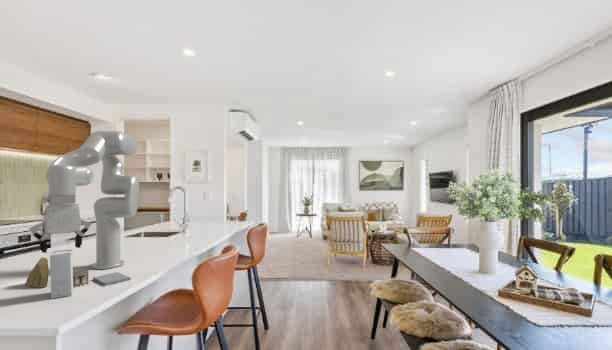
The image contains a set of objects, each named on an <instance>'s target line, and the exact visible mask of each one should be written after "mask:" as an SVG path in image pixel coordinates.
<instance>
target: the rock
mask: <svg viewBox="0 0 612 350" xmlns="http://www.w3.org/2000/svg"><path fill="white" fill-rule="evenodd" d="M48 261H49V260H48V258H46V257H41V258H40V259H39V260H38V261H37V262H36V264H35V265H34V267H33V268H32V269H31V271H30V272H29V275H28V276H27V278H26V281H25V283H24V285H26V286H27V287H30V288H31V287H33V288H46V287H47V286H48V283H49V262H48Z"/></svg>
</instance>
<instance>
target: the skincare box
mask: <svg viewBox="0 0 612 350" xmlns="http://www.w3.org/2000/svg"><path fill="white" fill-rule="evenodd" d="M73 266H74V264H73V249H72V248H70V249H62V250H54V251H52V252H51V254H50V255H49V268H50V298H51V299H57V298H64V297H70V296H73V290H74V287H73V271H74V269H73V268H74V267H73Z"/></svg>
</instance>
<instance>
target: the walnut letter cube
mask: <svg viewBox="0 0 612 350" xmlns="http://www.w3.org/2000/svg"><path fill="white" fill-rule="evenodd" d="M84 284H86V285H89V270H87V269H84V268H81V269H76V270H73V288H76V287H75V286H78V287H81V286H80V285H82V286H85V285H84Z"/></svg>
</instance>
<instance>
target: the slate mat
mask: <svg viewBox="0 0 612 350" xmlns="http://www.w3.org/2000/svg"><path fill="white" fill-rule="evenodd" d="M94 280H95V281H94ZM92 281H94V282H96V283H98V284H101V285H102V286H105V287H106V286H110V285H115V284H119V282H120V283H123V281H124V282H127V281H131V277H130V276H128V275H125V274H123V273H120V272H118V271H116V272H112V273H108V274H103V275H98V276H93V277H92Z"/></svg>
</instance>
